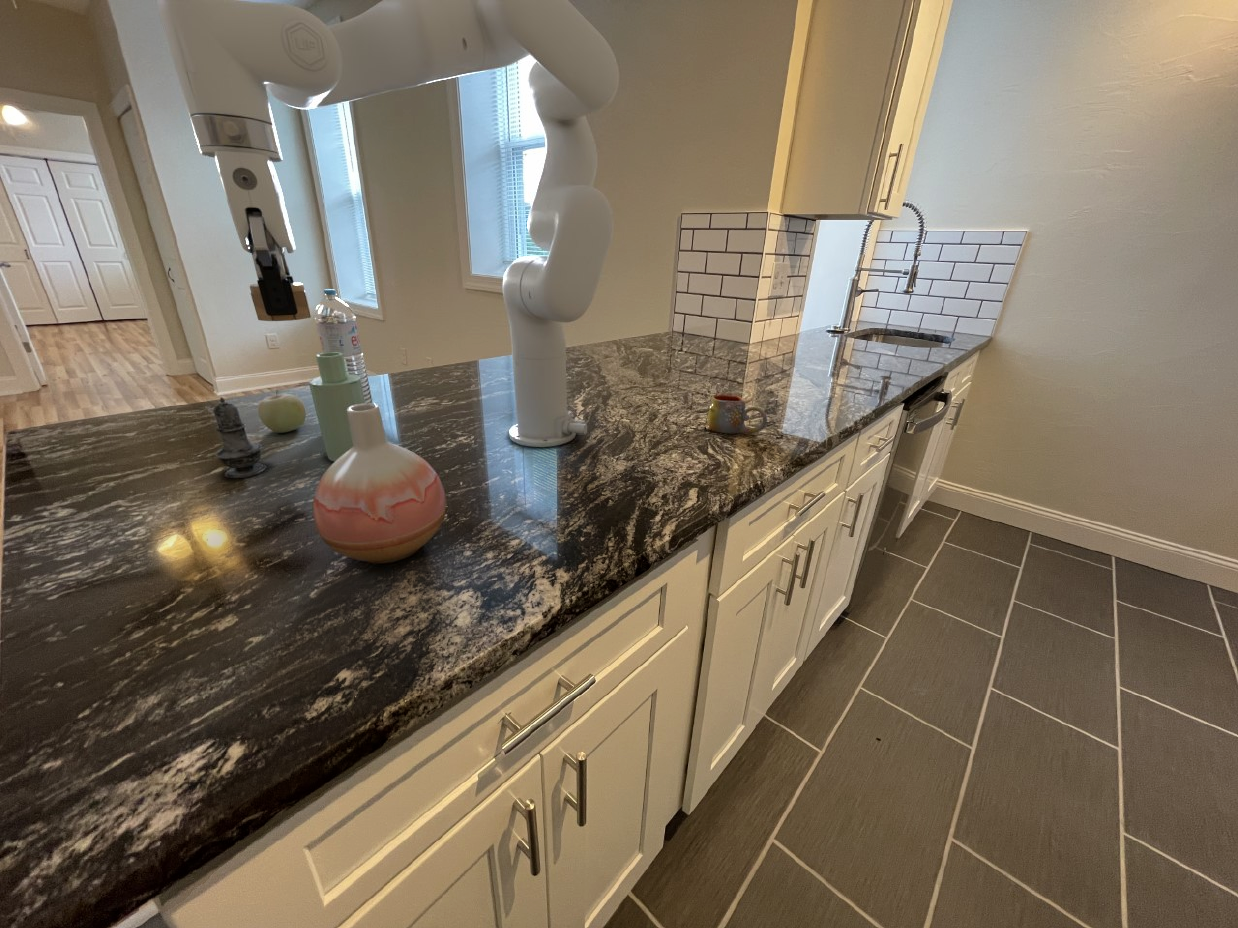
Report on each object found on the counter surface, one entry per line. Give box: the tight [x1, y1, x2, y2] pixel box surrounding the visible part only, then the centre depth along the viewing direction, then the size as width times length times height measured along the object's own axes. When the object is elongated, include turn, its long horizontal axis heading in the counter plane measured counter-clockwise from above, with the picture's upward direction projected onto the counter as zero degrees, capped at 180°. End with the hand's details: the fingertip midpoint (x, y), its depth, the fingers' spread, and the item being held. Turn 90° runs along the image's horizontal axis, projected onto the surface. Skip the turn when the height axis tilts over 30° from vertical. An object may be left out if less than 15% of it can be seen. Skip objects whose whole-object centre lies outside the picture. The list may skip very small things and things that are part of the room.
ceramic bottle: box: [308, 352, 365, 463], centre depth 79 cm, size 7×7×17 cm
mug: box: [706, 394, 768, 435], centre depth 95 cm, size 12×7×7 cm, turn 50°
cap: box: [248, 282, 312, 322], centre depth 61 cm, size 6×6×4 cm
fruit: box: [257, 389, 307, 434], centre depth 91 cm, size 8×7×8 cm
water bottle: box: [313, 288, 374, 404], centre depth 94 cm, size 7×7×25 cm
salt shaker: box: [212, 397, 267, 479], centre depth 73 cm, size 6×6×12 cm
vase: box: [312, 403, 447, 565], centre depth 54 cm, size 14×14×18 cm
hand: (284, 310), depth 61 cm, fingers closed on cap, 5 cm apart
